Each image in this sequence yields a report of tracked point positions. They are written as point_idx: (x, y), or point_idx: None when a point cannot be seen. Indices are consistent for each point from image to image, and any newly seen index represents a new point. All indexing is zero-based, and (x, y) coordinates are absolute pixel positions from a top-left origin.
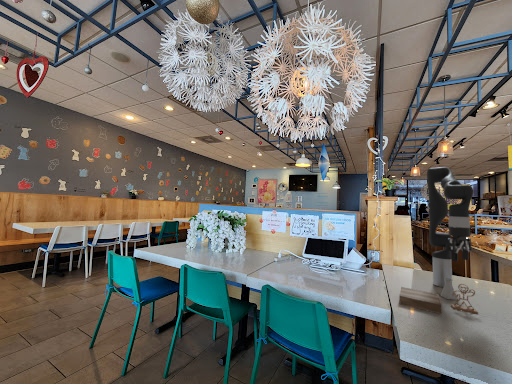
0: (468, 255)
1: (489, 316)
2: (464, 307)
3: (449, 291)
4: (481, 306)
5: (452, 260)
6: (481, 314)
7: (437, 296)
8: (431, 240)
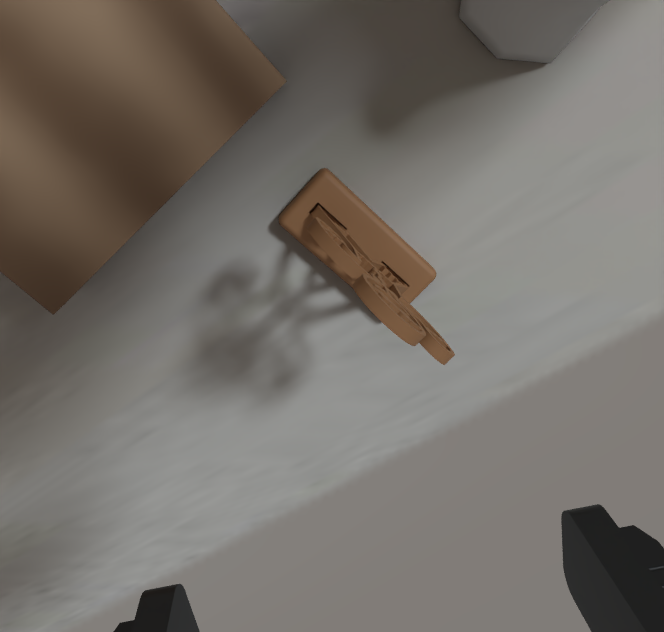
0: None
1: None
2: (371, 246)
3: (525, 12)
4: (596, 207)
5: (149, 594)
6: None
7: (209, 135)
8: None
